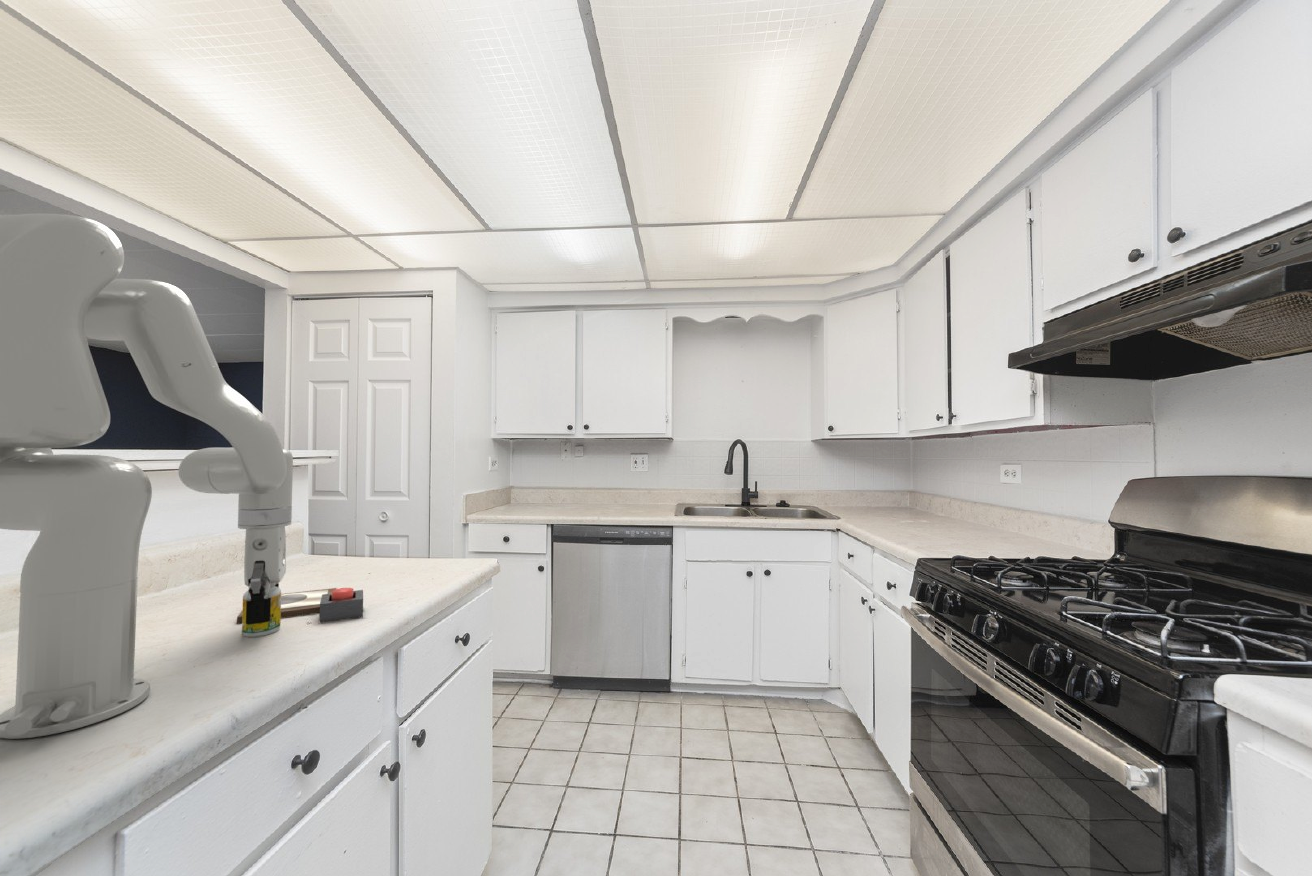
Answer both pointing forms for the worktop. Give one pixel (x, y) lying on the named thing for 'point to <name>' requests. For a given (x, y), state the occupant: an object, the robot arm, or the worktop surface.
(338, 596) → the button
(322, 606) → the button housing
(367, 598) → the worktop surface
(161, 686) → the worktop surface
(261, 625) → the supplement bottle
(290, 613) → the brown bordered square board
